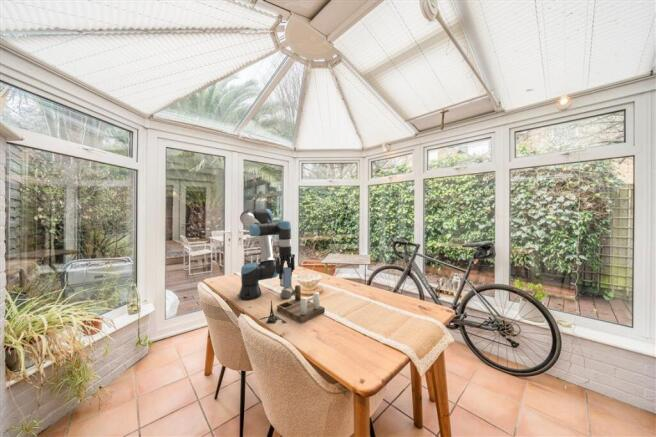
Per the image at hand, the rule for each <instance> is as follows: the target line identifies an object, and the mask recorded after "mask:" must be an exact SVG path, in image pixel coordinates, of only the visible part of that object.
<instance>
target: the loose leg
mask: <svg viewBox="0 0 656 437" xmlns="http://www.w3.org/2000/svg"><path fill="white" fill-rule="evenodd" d="M282 274H283V275H284V285H282V284H280V283H279V286H280V287H282V288H283V289H284V288H286V287H289V286H292V276H291V268H289V267H288V266H285V267H283V273H282ZM292 287H293V286H292Z"/></svg>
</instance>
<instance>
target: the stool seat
mask: <svg viewBox="0 0 656 437" xmlns="http://www.w3.org/2000/svg"><path fill="white" fill-rule="evenodd" d="M294 290H295V293H294V299H291V300H288V301H285V302H282V303H279V304H277V305H276V311H278V312H280V313H282V314H284V315H285V316H287V317H289V318H290V319H292V320H295V321H297V322H298V323H300V324H303V323H305V322H307V321H309V320H312V319H314V318H316V317H318V316H321V315H323V314H325V313H324V312H325V311H326V309H325V307H324V306H321V305H319V309H314V308H313V302H312V301H308V302H307V314H306V315H301V297H302V296H301V294H302V293H301V292H302V290H301V284H297V285H295V286H294Z"/></svg>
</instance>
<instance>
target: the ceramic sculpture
mask: <svg viewBox="0 0 656 437" xmlns="http://www.w3.org/2000/svg"><path fill="white" fill-rule="evenodd" d="M280 294H281V297H282V298H283V299H290V298H291V296H292V294H295V288H293V286H289V287H286V288H284V287H283V289H281V293H280Z"/></svg>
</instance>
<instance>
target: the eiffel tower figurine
mask: <svg viewBox="0 0 656 437" xmlns="http://www.w3.org/2000/svg"><path fill="white" fill-rule="evenodd" d="M265 319H267V320H266V323H265V324H267V325H268V324H271V325H272V324H276V323H277V321H281V324H283V325H284V324H287V323H288V322H287V321H286V320H284V319H283V318H281V317H279V316H278V315H275V314H274V311H273V301H272V299H271V300H270V312H269V315H268V316H267V317H266V316H263V317H261V318H258V321H261V320H265Z"/></svg>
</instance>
